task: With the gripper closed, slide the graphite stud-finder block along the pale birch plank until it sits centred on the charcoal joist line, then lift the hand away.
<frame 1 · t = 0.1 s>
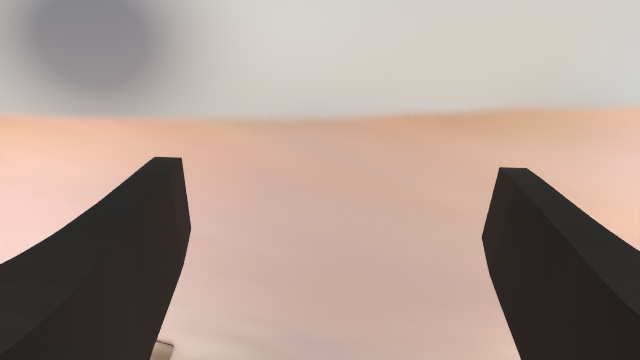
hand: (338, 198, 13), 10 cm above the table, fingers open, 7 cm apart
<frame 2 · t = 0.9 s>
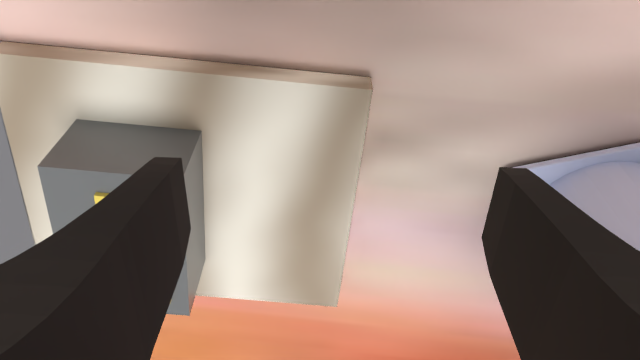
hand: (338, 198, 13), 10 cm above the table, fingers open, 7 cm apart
subfloor plank: (89, 174, 25), on the table
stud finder: (146, 195, 24), point 1 cm above the table, touching subfloor plank
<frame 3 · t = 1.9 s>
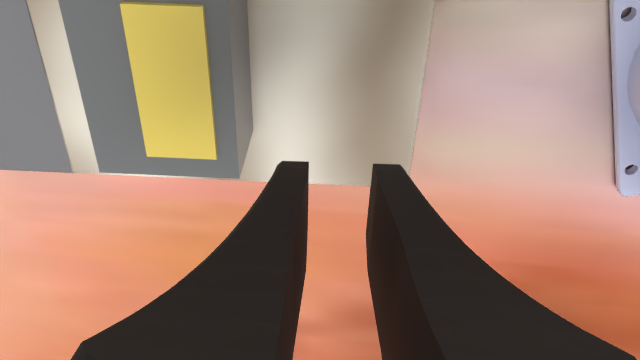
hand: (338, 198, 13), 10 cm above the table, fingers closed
subfloor plank: (115, 31, 21), on the table
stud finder: (182, 45, 20), point 1 cm above the table, touching subfloor plank
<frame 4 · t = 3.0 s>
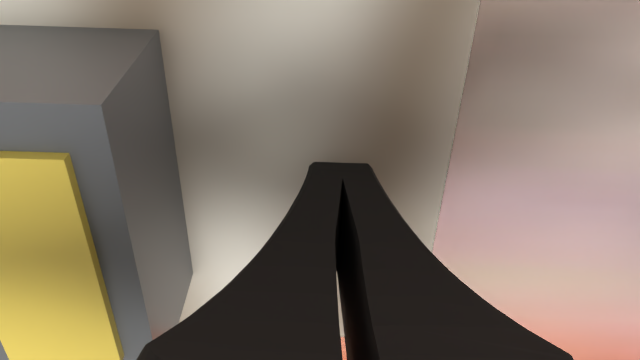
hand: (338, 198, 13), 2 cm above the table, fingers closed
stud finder: (76, 166, 13), point 1 cm above the table, touching subfloor plank
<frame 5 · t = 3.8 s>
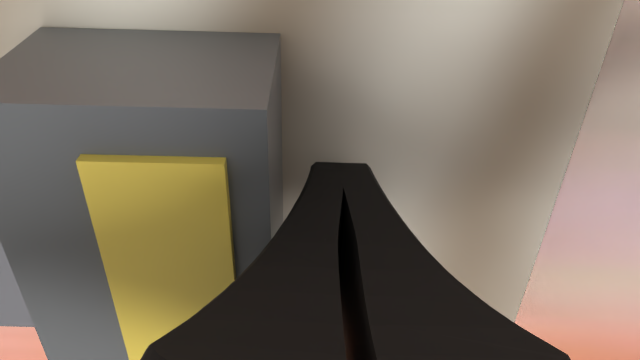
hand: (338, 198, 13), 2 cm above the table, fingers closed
subfloor plank: (93, 141, 14), on the table
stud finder: (180, 170, 13), point 1 cm above the table, touching gripper, subfloor plank
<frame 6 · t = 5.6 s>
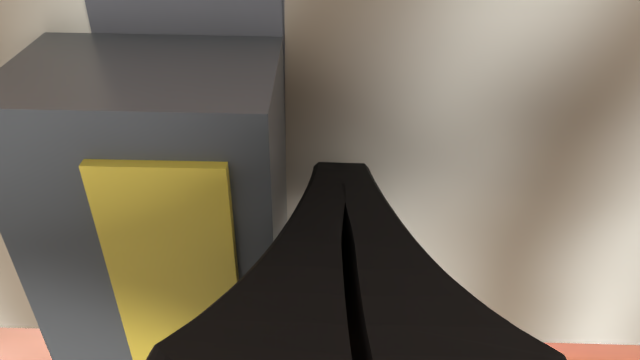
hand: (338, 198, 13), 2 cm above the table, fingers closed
subfloor plank: (384, 151, 14), on the table
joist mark: (211, 145, 14), resting in subfloor plank
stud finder: (184, 173, 13), point 1 cm above the table, touching gripper, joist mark, subfloor plank
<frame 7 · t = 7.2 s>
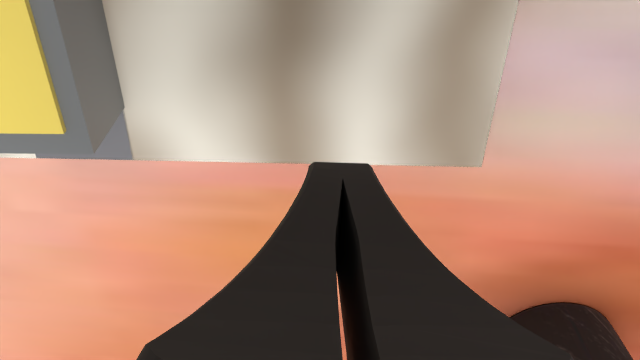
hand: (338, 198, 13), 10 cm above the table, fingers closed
travel mug: (546, 342, 31), on the table
subfloor plank: (184, 8, 20), on the table
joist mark: (60, 5, 20), resting in subfloor plank
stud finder: (35, 18, 19), point 1 cm above the table, touching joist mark, subfloor plank
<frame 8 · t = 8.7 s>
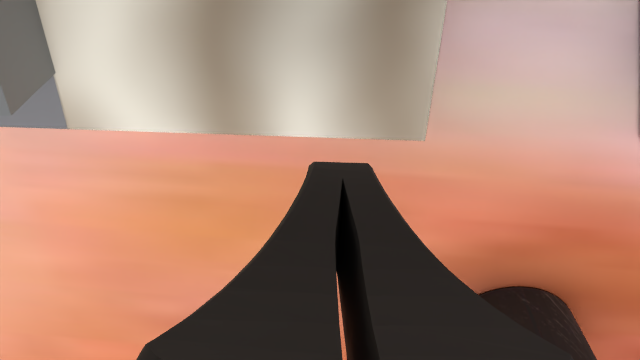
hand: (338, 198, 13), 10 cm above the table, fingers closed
travel mug: (506, 328, 31), on the table
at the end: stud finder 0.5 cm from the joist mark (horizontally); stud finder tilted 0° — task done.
